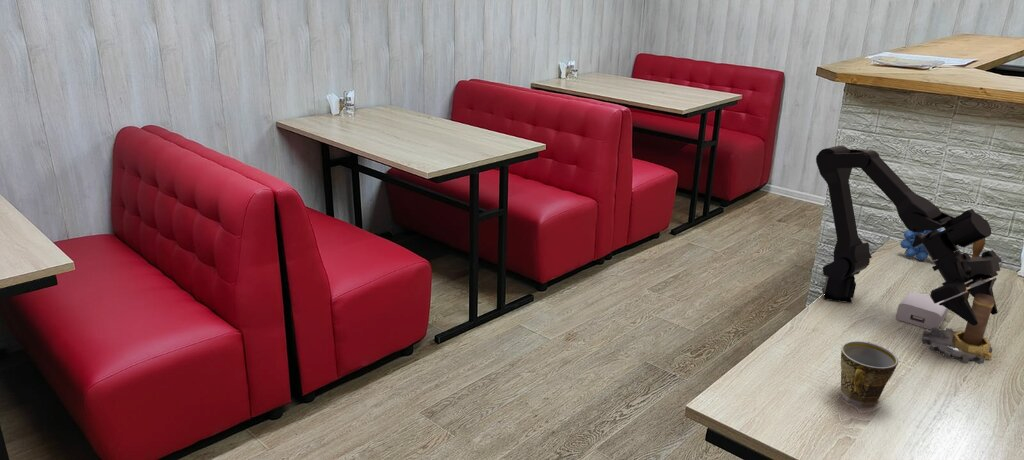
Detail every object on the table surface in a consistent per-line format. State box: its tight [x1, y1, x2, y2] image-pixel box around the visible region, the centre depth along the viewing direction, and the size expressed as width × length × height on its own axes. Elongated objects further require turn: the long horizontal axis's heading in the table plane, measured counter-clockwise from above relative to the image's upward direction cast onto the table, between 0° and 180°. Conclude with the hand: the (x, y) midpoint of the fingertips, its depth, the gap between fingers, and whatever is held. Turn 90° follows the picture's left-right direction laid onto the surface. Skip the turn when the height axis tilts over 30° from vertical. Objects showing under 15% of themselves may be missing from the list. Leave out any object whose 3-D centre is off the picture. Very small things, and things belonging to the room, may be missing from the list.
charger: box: [895, 291, 949, 330], centre depth 175 cm, size 5×9×15 cm
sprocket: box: [921, 327, 994, 364], centre depth 160 cm, size 14×14×3 cm
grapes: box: [899, 228, 945, 261], centre depth 206 cm, size 12×7×12 cm, turn 52°
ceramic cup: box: [840, 340, 899, 408], centre depth 139 cm, size 13×10×10 cm
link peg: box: [962, 293, 996, 346], centre depth 157 cm, size 4×4×12 cm
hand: (985, 319), depth 155 cm, fingers open, 9 cm apart
